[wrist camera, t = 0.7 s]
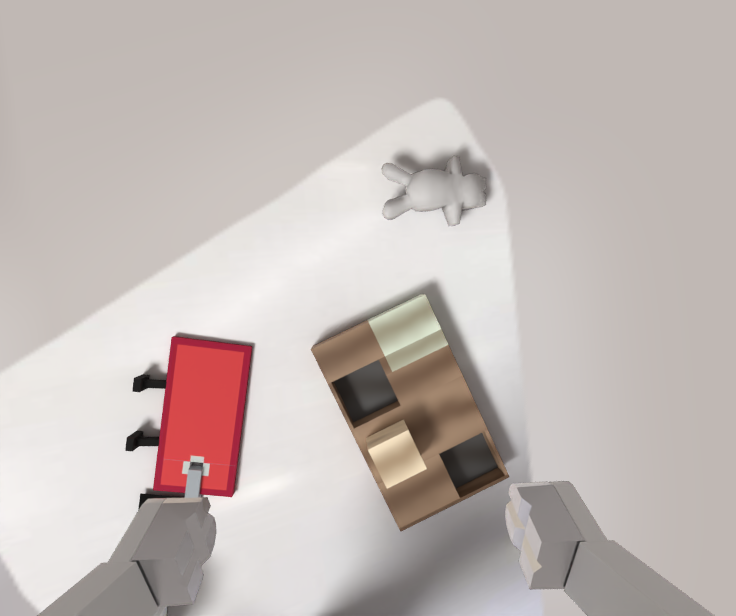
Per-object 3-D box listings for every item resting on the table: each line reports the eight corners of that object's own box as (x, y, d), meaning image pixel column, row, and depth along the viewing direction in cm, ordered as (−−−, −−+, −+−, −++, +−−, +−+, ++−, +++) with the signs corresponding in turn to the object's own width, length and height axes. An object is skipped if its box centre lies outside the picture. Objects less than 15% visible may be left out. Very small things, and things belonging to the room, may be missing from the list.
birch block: (420, 455, 54) (426, 468, 50) (383, 473, 54) (386, 488, 50) (403, 419, 53) (408, 429, 49) (366, 437, 53) (367, 449, 49)
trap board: (501, 467, 58) (509, 476, 55) (397, 518, 57) (400, 531, 54) (421, 294, 56) (425, 294, 53) (312, 346, 55) (310, 349, 52)
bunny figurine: (491, 222, 52) (387, 221, 49) (474, 228, 57) (379, 227, 54) (491, 153, 51) (386, 148, 49) (474, 165, 56) (378, 161, 54)
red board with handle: (125, 532, 55) (228, 540, 56) (114, 545, 52) (222, 553, 53) (149, 332, 54) (253, 345, 55) (139, 334, 51) (249, 348, 53)
